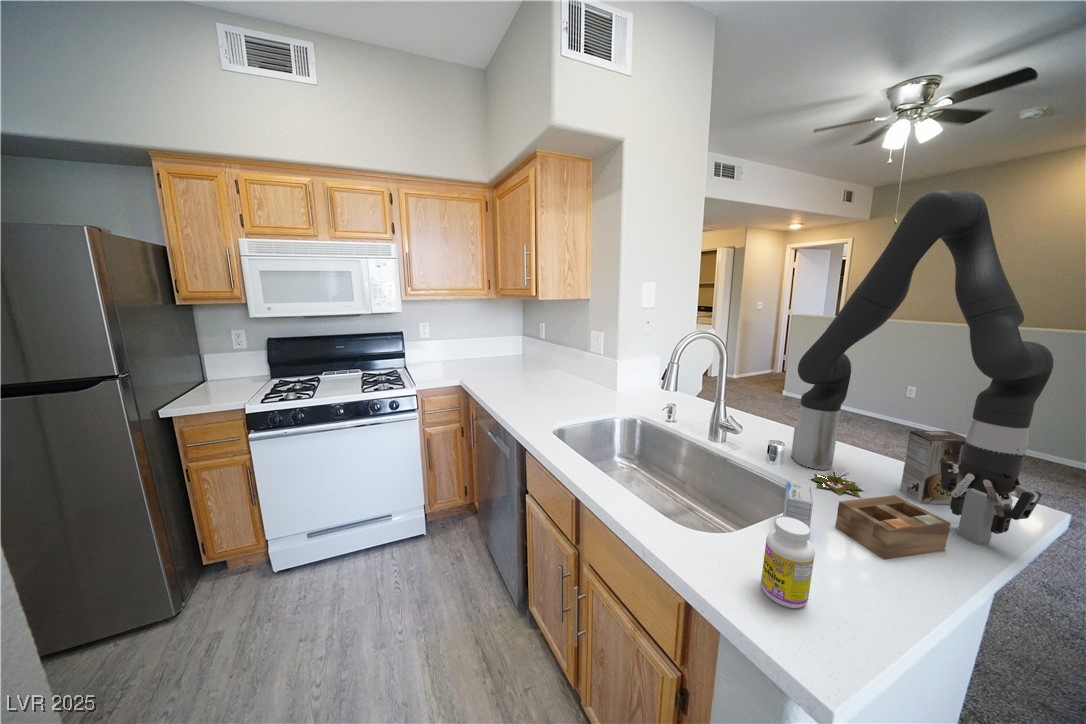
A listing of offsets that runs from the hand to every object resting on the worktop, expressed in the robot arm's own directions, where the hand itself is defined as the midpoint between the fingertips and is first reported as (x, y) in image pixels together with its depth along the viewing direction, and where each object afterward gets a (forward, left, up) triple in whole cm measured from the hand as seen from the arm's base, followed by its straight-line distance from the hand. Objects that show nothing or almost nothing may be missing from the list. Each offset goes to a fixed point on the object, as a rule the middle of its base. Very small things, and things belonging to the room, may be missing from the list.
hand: (976, 522), depth 75 cm
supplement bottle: (+6, -49, -4) cm, 50 cm away
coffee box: (-14, +9, -4) cm, 17 cm away
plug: (0, 0, -4) cm, 4 cm away
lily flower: (-23, -8, -4) cm, 25 cm away
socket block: (-3, -17, -3) cm, 18 cm away
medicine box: (-9, -33, -4) cm, 34 cm away
